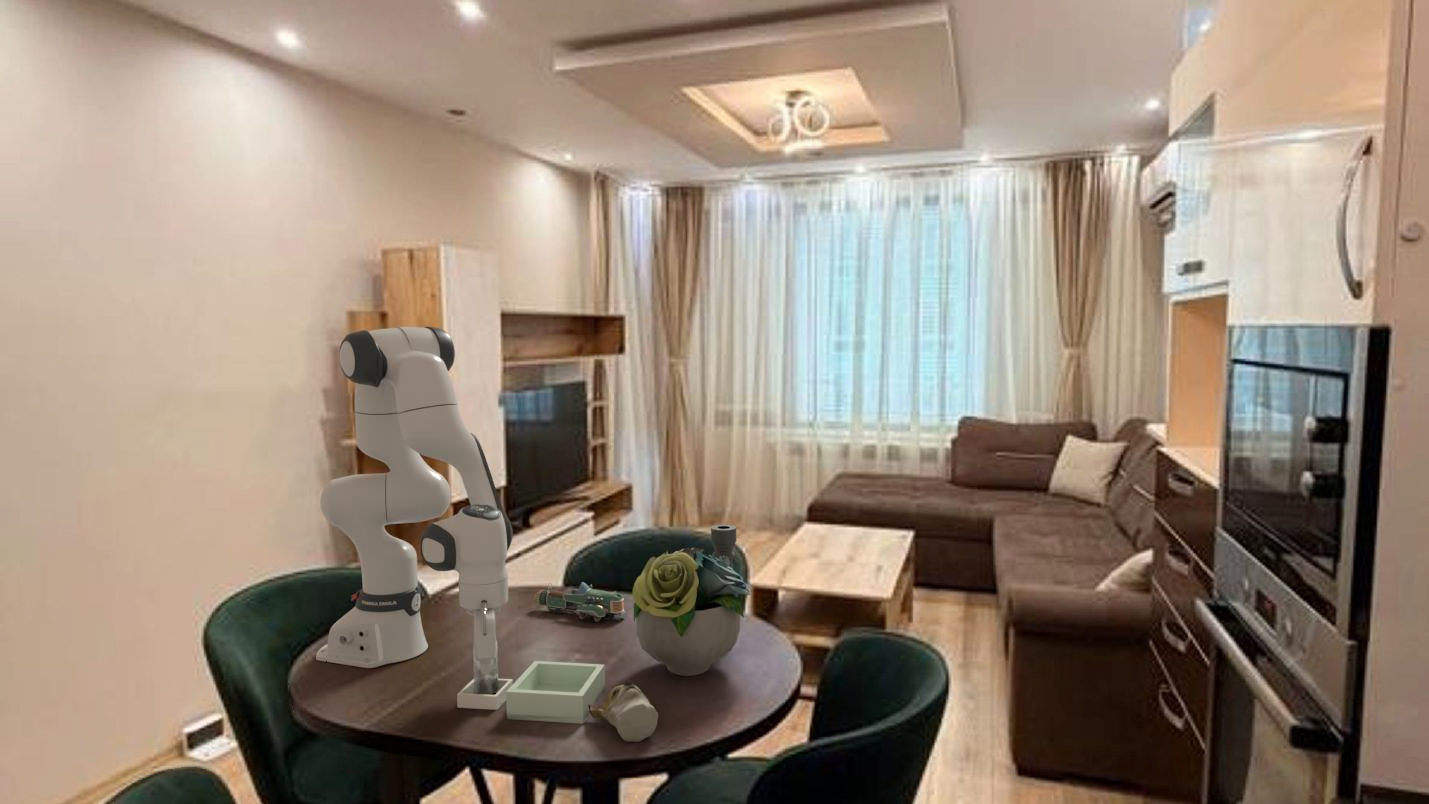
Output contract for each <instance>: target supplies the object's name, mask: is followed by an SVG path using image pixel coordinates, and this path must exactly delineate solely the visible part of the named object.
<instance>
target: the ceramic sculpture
mask: <svg viewBox="0 0 1429 804" xmlns="http://www.w3.org/2000/svg"><path fill="white" fill-rule="evenodd" d="M588 707H589V712H590V714H589V715H591V717H592V718H593V719H594V720H595V721H598V722H600V723H605V724H611V725H612V726H613V727H615V728H616V730H617V733H618V734H619V736H620V738H621V739H622V740H624V741H625V742H629V743H630V742H633V743H638V742H642V741H644V740H645V739H646V738H649V737H651V736H652V734H653V733H655V730H656V728H657V725H658V721H659V720H658V719H659V713H658V712H657V710H656V709H655V707H654V706H653V705H652V704H651V700H650V698H648V697H647V696H646V695H645V694H644V693H643V692H642V690H641V689H640V688H639V687H638V686H637V685H635V684H634V683H633V682H631V681H626V682H624V684H622V685H621V684H619V685H617V686H614V687H613V688H612V689H611V690H610V691H609V693H608V694H607V697H606V700H605V703H600V704H596V705H595V706H594V705H588Z"/></svg>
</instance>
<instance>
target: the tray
mask: <svg viewBox="0 0 1429 804" xmlns="http://www.w3.org/2000/svg"><path fill="white" fill-rule="evenodd" d="M605 691H606V665H605V664H602V663H586V662H585V663H580V662H563V661H562V662H561V661H560V662H559V661H545V660H543V661H542V660H541V661H540V660H534V661H533V662H532V663H531V665H529V667H528V668H526V669H525V671H524V672H523V673H522V674H521V675H520V676H519V677H518V678H517V679H516V681H515V682H513V685H512V686H511V687H510V688H509V689H508V690H507V691H506V701H505V702H506V719H507V720H517V721H519V720H520V721H532V722H535V721H536V722H537V721H538V722H549V723H550V722H551V723H564V724H565V723H566V724H567V723H568V724H581V725H582V724H584V723H585V722H586V720H587V719H588V717H590V715H591V714H590V712H589V707H588V705H594V706H597V703H598V702H599V700H600V699H601V697H602V696H603V694H604V692H605Z"/></svg>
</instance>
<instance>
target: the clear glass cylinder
mask: <svg viewBox="0 0 1429 804" xmlns="http://www.w3.org/2000/svg"><path fill="white" fill-rule="evenodd" d="M498 646H499V645H498V640H497V639H496V658H495V659H492V660H491V672H489V673H481V664H480V661H476V659H475V650H474V642H472V656H473V657H472V658H473V679H474V692H475V694H487V695H492V694H493V693H496V691H497V690H498V689H499V683H498V679H499V655H498V652H499V650H498V649H499V648H498Z"/></svg>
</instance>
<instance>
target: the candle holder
mask: <svg viewBox="0 0 1429 804" xmlns="http://www.w3.org/2000/svg"><path fill="white" fill-rule="evenodd" d="M710 541H711V543H712V544H711V545H712V547H713V549H714V552H713V553H712V554H711V556H712V555H713V556H715V557H716V558H717V559H718V558H719V557H720V556H721V557H722V560H723V559H724V558H723V556H727V557H728V558H729V561H730V565H729V567H730V568H732V569H733V560H734V559H735V557H736V553H735V552H734V551H733V550H734V547H735V546H736V542H737V526H735V525H733V524H716V525H712V526H711V527H710ZM736 597H738V598H739V596H738V595H737V596H736Z"/></svg>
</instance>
